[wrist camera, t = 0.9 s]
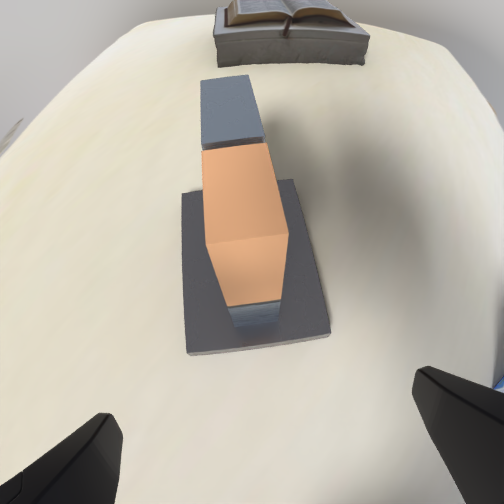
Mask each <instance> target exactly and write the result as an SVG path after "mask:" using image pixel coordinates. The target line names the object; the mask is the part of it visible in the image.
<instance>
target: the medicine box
mask: <svg viewBox="0 0 504 504" xmlns="http://www.w3.org/2000/svg"><path fill="white" fill-rule="evenodd" d="M494 390H497V391H500V392H503V393H504V377H503V378H502V379H501V380H500V382H499V383H498V384H497V385H496V387H495V388H494Z"/></svg>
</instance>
